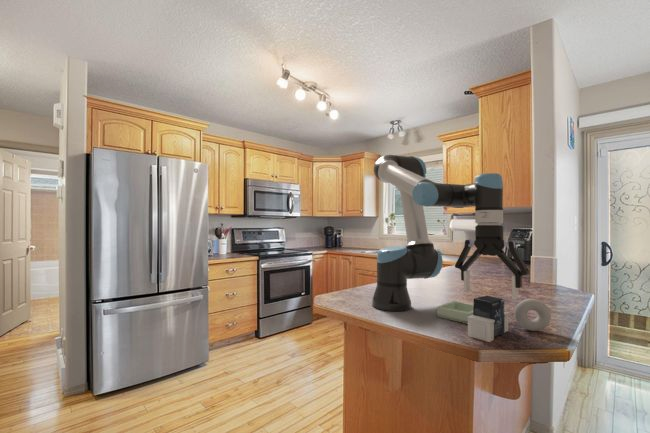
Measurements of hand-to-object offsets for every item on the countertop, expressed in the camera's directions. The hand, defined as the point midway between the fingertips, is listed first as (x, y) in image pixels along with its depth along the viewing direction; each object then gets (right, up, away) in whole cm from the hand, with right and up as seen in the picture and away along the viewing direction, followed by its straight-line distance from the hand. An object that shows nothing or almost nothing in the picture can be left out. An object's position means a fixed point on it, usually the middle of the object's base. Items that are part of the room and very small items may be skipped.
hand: (489, 295), depth 93 cm
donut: (+15, -12, +3) cm, 19 cm away
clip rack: (0, -12, 0) cm, 12 cm away
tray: (-1, -12, +17) cm, 20 cm away
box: (0, -12, 0) cm, 12 cm away
